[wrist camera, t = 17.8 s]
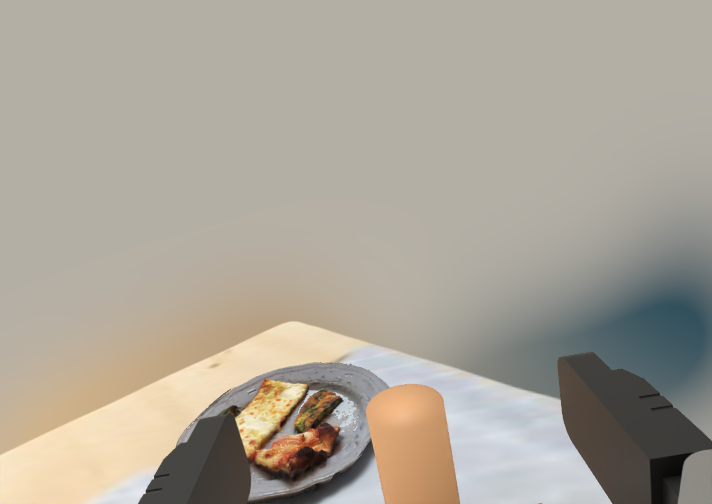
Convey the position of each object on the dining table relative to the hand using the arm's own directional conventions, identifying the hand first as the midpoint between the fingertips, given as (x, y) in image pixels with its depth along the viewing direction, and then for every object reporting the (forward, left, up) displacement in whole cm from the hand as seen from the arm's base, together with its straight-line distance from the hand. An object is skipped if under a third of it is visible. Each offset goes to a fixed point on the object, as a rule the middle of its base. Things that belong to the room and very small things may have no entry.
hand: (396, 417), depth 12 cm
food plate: (-20, -35, -26) cm, 48 cm away
